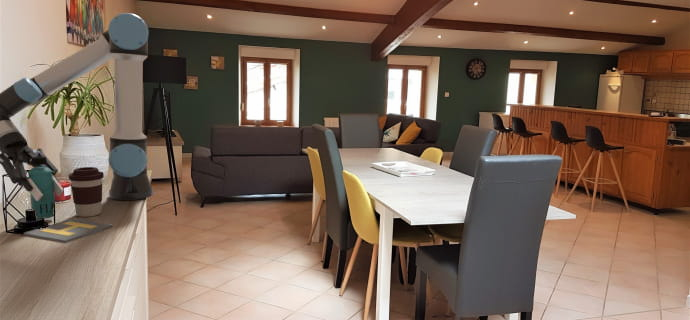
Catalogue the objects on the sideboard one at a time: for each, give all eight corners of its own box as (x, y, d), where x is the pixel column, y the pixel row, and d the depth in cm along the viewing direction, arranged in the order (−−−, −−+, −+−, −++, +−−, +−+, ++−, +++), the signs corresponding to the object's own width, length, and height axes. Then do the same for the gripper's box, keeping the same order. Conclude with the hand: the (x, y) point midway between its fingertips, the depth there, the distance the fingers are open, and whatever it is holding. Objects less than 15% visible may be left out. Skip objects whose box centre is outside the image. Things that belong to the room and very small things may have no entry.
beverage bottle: (38, 225, 150) (33, 159, 146) (27, 221, 153) (21, 157, 150) (60, 220, 155) (55, 156, 152) (49, 216, 159) (44, 154, 155)
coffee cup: (90, 219, 156) (87, 172, 154) (64, 216, 159) (60, 170, 156) (112, 211, 166) (110, 167, 163) (87, 209, 168) (84, 165, 166)
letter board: (72, 220, 155) (72, 218, 155) (112, 226, 150) (112, 224, 150) (23, 234, 141) (23, 232, 141) (65, 242, 135) (65, 240, 135)
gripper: (31, 142, 165) (72, 196, 162) (-30, 150, 147) (14, 210, 144) (42, 127, 162) (83, 181, 159) (-20, 133, 144) (26, 194, 141)
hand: (50, 195), depth 152 cm, fingers closed on beverage bottle, 6 cm apart
